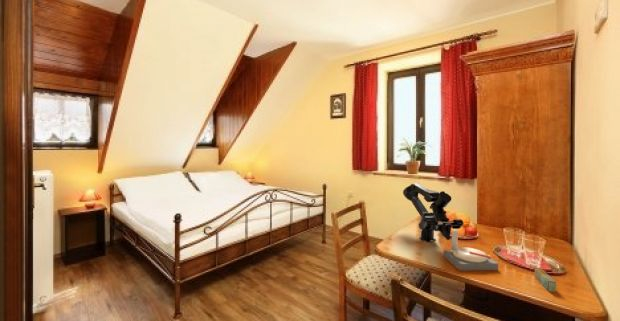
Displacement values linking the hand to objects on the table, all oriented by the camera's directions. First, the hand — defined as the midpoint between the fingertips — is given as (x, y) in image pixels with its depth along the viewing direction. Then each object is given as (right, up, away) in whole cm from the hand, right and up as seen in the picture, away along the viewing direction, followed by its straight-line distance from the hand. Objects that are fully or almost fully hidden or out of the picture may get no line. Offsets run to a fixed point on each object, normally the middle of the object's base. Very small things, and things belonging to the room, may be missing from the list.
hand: (448, 239), depth 139 cm
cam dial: (+6, -5, -8) cm, 12 cm away
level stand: (+6, -8, -8) cm, 13 cm away
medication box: (+25, -10, -27) cm, 38 cm away
